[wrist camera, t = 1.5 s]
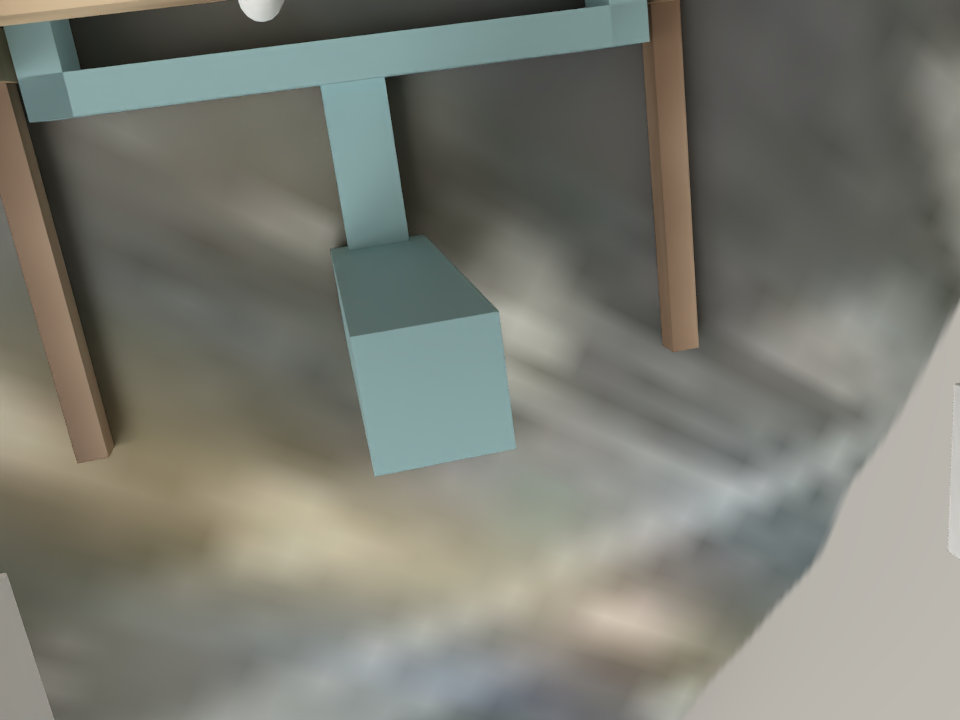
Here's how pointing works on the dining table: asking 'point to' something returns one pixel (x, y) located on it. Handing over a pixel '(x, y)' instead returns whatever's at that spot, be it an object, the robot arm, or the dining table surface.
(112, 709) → the dining table surface
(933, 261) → the dining table surface
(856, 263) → the dining table surface
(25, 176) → the wooden slat rack
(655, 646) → the dining table surface
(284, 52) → the sled
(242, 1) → the cup
